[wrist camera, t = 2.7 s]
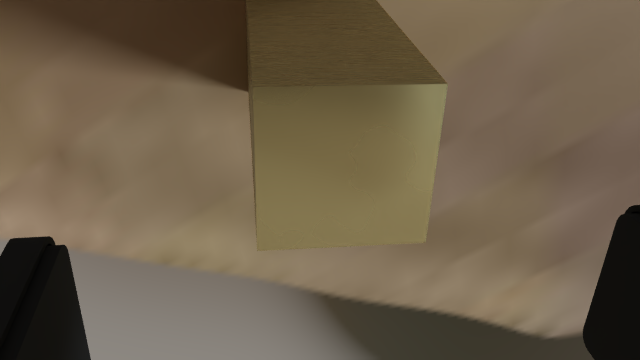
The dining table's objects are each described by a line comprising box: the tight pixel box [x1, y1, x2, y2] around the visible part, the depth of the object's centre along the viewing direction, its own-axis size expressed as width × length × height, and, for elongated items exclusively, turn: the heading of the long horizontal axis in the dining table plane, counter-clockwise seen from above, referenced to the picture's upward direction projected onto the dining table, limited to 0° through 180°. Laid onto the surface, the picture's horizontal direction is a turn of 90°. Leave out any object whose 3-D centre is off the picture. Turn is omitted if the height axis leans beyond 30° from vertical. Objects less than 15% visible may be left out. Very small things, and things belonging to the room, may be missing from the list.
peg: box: [246, 0, 448, 251], centre depth 18 cm, size 4×4×10 cm
